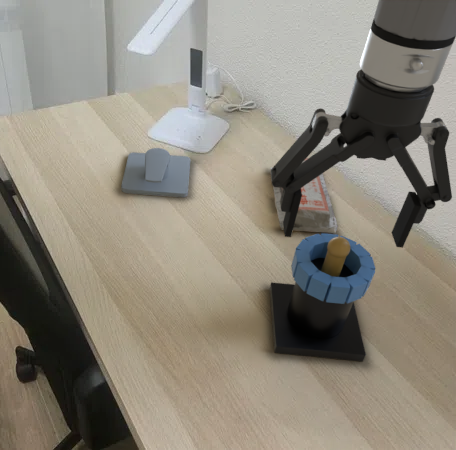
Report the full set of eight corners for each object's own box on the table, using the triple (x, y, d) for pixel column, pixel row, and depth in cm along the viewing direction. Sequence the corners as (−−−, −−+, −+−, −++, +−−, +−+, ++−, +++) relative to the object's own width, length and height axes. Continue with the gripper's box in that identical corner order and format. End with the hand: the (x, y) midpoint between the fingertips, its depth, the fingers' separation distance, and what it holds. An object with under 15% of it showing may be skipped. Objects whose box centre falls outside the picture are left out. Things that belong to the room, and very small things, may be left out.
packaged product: (344, 213, 92) (284, 210, 92) (337, 235, 95) (279, 231, 95) (325, 153, 105) (272, 150, 106) (319, 174, 109) (268, 171, 109)
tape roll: (360, 252, 77) (366, 236, 75) (375, 307, 69) (382, 290, 67) (288, 246, 78) (292, 230, 76) (295, 299, 70) (300, 283, 68)
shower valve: (118, 176, 97) (129, 132, 108) (118, 201, 100) (129, 155, 112) (188, 182, 96) (192, 137, 107) (186, 206, 100) (190, 160, 111)
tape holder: (348, 296, 84) (380, 213, 74) (362, 361, 75) (401, 278, 64) (269, 289, 85) (289, 206, 74) (274, 353, 76) (298, 268, 65)
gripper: (273, 83, 53) (242, 245, 67) (541, 104, 52) (452, 265, 65) (268, 51, 58) (241, 207, 72) (510, 69, 57) (434, 224, 71)
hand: (341, 235), depth 69 cm, fingers open, 13 cm apart
